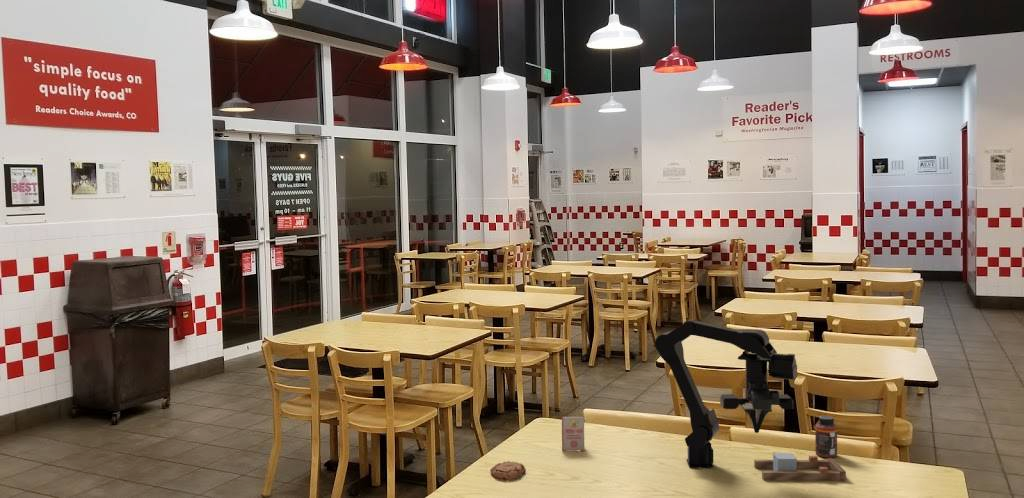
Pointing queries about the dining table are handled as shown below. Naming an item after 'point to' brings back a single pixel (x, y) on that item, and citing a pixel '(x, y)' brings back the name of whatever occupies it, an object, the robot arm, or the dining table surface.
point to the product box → (572, 433)
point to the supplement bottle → (826, 437)
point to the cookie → (508, 470)
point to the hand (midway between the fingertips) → (756, 432)
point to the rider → (784, 462)
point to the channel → (813, 463)
